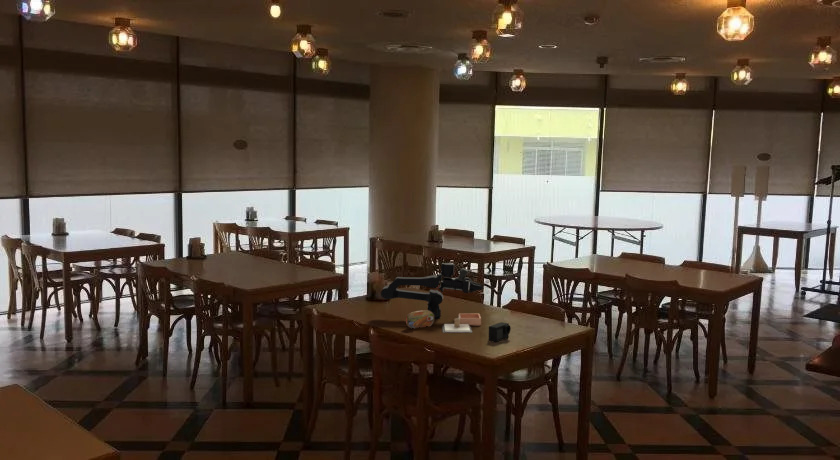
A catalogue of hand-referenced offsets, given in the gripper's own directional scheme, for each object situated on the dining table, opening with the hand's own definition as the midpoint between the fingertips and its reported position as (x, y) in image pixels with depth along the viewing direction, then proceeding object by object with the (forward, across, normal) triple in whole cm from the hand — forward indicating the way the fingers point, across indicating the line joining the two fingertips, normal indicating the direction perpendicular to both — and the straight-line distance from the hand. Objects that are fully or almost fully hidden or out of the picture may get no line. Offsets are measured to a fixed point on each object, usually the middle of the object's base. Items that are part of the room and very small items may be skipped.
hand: (482, 286), depth 369 cm
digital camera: (+9, -38, +20) cm, 44 cm away
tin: (-29, -19, +22) cm, 41 cm away
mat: (-11, -22, +20) cm, 32 cm away
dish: (-5, -9, +18) cm, 21 cm away
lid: (-11, -22, +19) cm, 31 cm away
